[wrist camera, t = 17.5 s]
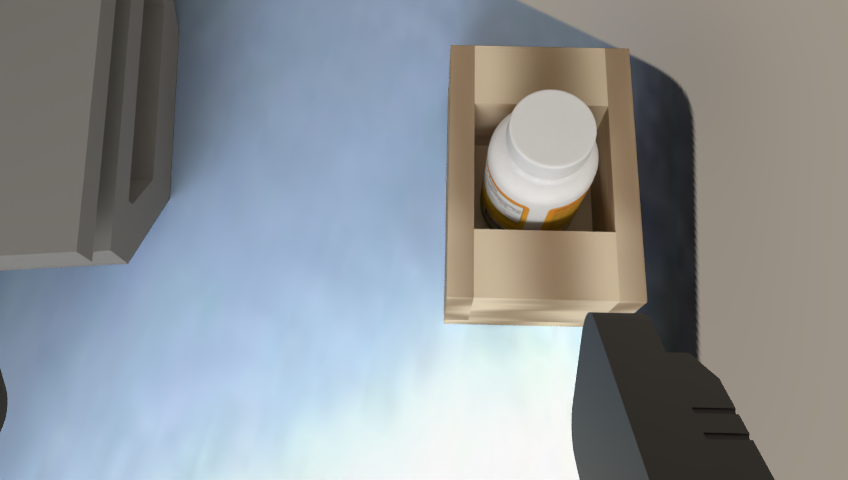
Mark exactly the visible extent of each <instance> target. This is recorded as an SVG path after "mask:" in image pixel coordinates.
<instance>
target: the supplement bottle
mask: <svg viewBox="0 0 848 480" xmlns="http://www.w3.org/2000/svg"><path fill="white" fill-rule="evenodd" d="M596 136H597V127H596V121H595V118H594V116H593V114H592V112H591V110H590V109H589V107H588V106H587V105H586V104H585V103H584V102H583V101H582V100H580V99H579V98H578V97H576V96H574V95H572V94H570V93H567V92H565V91H560V90H552V89H551V90H541V91H537V92H534V93H532V94H530V95H528V96H526V97H525V98H523V99H522V100H521V101H520V102H519V103H518V104H517V105H516V107H515V108H514V109H513V111H512V113H510V114H509V115H508V116H506V117H505V118H504V119H503V120H502V121H501V122H500V123H499V125H498V126H497V128H496V129H495V131H494V133H493V135H492V137H491V140H490V144H489V148H488V153H487V160H486V166H485V172H484V177H483V183H482V188H481V195H480V209H481V213H482V216H483V219H484V221H485V223H486V225H487V226H488V228H489V229H499V230H542V231H565V230H566V229H567V228H568V226H569V225H570V223H571V221H572V219H573V217H574V216H575V214H576V212H577V210H578V208H579V206H580V204H581V202H582V201H583V199H584V197H585V195H586V193H587V191H588V189H589V188H590V186H591V184H592V182H593V180H594V177H595V175H596V171H597V168H598V160H599V155H598V148H597V144H596Z"/></svg>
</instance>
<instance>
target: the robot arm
mask: <svg viewBox="0 0 848 480" xmlns="http://www.w3.org/2000/svg"><path fill="white" fill-rule="evenodd" d="M6 412H7V391H6V387H5V384H4V380H3V377H2V373H1V370H0V431H1V429H2V427H3V424H4V421H5V417H6ZM572 442H573V450H574V456H575V461H576V465H577V470H578V474H579V478H580V480H774V478H773V476H772V474H771V472H770V471H769V469H768V467H767V465H766V463H765V461H764V460H763V458H762V456H761V454H760V452H759V450H758V449H757V447H756V445H755V443H754V441H753V440H750V439H749V432H748V430H747V429H746V427H745V425H744V423H743V422H742V419H741V418H740V416H739V415H738V414H736V413H735V407H734V405H733V403H732V401H731V400H730V398H729V396H728V394H727V392H726V390H725V389H724V387H723V385H722V383H721V381H720V379H719V378H718V377H717V376H715V375H714V374H713V373H712V372H711V371H709V370H708V369H707V368H706V367H704V366H703V365H702V364H701V363H700V362H699V361H698V360H696V359H695V358H694V357H693V356H692V355H691V354H689V353H666V352H665V350H664V347H663V345H662V343H661V341H660V339H659V337H658V335H657V332H656V330H655V328H654V326H653V324H652V322H651V320H650V318H649V316H648V315H647V314H645V313H606V312H588V313H587V315H586V317H585V320H584V324H583V330H582V338H581V345H580V353H579V360H578V368H577V376H576V383H575V391H574V398H573V407H572Z"/></svg>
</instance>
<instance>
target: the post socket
mask: <svg viewBox="0 0 848 480" xmlns="http://www.w3.org/2000/svg"><path fill="white" fill-rule="evenodd" d="M551 89H552V90H560V91H565V92H567V93H570V94H572V95H574V96H576V97H578V98H579V99H580V100H582V101H583V102H584V103H585V104H586V105H587V106H588V107H589V109H590V110H591V112H592V114H593V116H594V118H595V121H596V127H597V136H596V144H597V148H598V155H599V160H598V168H597V171H596V175H595V177H594V180H593V182H592V184H591V186H590V188H589V189H588V191H587V193H586V195H585V197H584V199H583V201H582V202H581V204H580V206H579V208H578V210H577V212H576V214H575V216H574V217H573V219H572V221H571V223H570V225H569V226H568V228H567V229H566V230H565V231H542V230H499V229H489V228H488V226H487V225H486V223H485V221H484V219H483V216H482V213H481V209H480V195H481V188H482V183H483V177H484V172H485V166H486V160H487V153H488V148H489V144H490V140H491V137H492V135H493V133H494V131H495V129H496V128H497V126H498V125H499V123H500V122H501V121H502V120H503V119H504V118H505V117H506V116H508V115H509V114H510V113H512V111H513V109H514V108H515V107H516V105H517V104H518V103H519V102H520V101H521V100H522V99H523V98H525V97H526V96H528V95H530V94H532V93H534V92H537V91H541V90H551ZM646 302H647V293H646V279H645V265H644V251H643V237H642V223H641V209H640V195H639V181H638V167H637V154H636V140H635V126H634V112H633V98H632V84H631V70H630V56H629V49H616V48H567V47H517V46H467V45H451V51H450V70H449V88H448V121H447V178H446V234H445V291H444V323H446V324H487V325H527V326H568V327H583V324H584V320H585V317H586V315H587V313H588V312H606V313H635V312H636V311H637V310H638V309H639V308H641V307H642V306H643V305H644V304H645V303H646Z"/></svg>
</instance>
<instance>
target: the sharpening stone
mask: <svg viewBox="0 0 848 480" xmlns="http://www.w3.org/2000/svg"><path fill="white" fill-rule="evenodd" d="M178 47H179V27H178V22H177V16H176V11H175V5H174V0H0V271H2V270H20V269H38V268H57V267H75V266H94V265H112V264H128V263H129V261H130V260H131V258H132V257H133V255H134V253H135V252H136V250H137V249H138V247H139V246H140V244H141V243H142V241H143V239H144V238H145V236H146V235H147V233H148V232H149V230H150V229H151V227H152V225H153V224H154V222H155V221H156V219H157V218H158V216H159V215H160V213H161V211H162V210H163V208H164V207H165V205H166V204H167V202H168V201H169V199H170V186H171V168H172V151H173V134H174V116H175V99H176V82H177V64H178Z"/></svg>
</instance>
